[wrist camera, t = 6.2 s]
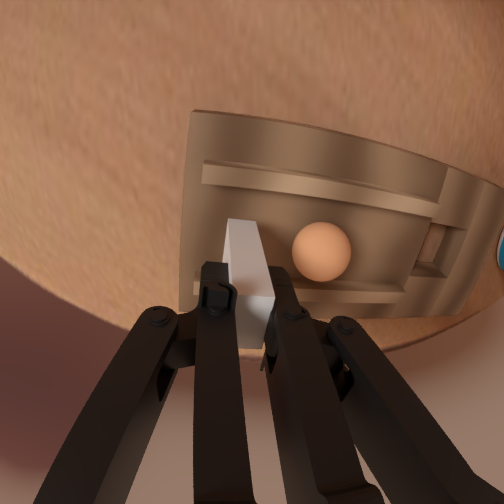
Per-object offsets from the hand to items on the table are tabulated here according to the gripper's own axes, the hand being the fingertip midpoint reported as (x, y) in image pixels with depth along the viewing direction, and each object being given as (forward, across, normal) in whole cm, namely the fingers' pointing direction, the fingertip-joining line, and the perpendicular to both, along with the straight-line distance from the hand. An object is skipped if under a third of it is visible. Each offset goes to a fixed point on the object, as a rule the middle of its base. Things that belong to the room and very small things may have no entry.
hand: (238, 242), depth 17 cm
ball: (0, +5, 0) cm, 5 cm away
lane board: (+4, +10, 0) cm, 10 cm away
